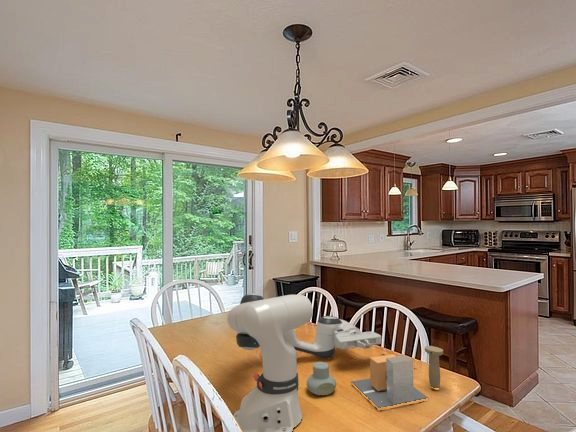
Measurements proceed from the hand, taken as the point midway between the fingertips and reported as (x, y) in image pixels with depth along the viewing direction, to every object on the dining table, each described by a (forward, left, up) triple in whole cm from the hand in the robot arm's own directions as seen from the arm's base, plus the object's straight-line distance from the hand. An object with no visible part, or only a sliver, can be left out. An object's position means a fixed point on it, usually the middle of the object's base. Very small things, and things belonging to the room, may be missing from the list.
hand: (367, 346), depth 135 cm
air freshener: (-23, -6, -12) cm, 27 cm away
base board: (0, -14, -12) cm, 18 cm away
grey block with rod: (0, -16, -11) cm, 19 cm away
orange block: (0, -13, -10) cm, 16 cm away
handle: (+18, -18, -12) cm, 28 cm away
